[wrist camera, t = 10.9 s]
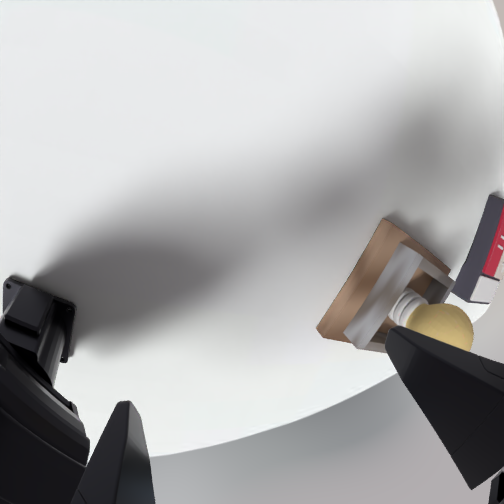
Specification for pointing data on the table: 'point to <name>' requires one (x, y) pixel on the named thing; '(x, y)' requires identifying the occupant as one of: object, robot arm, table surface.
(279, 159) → the table surface
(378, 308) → the square frame
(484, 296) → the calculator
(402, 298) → the light bulb
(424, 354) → the robot arm
